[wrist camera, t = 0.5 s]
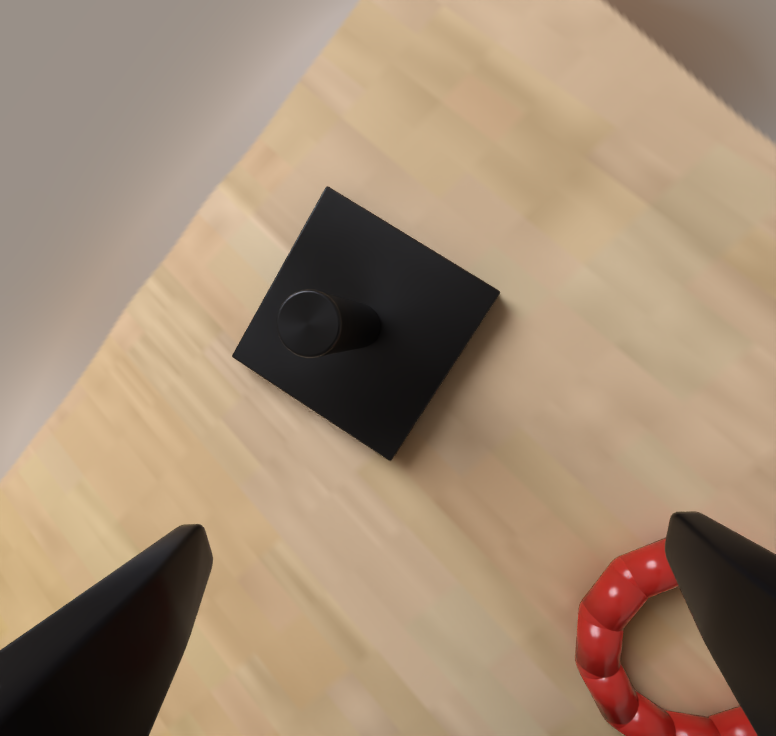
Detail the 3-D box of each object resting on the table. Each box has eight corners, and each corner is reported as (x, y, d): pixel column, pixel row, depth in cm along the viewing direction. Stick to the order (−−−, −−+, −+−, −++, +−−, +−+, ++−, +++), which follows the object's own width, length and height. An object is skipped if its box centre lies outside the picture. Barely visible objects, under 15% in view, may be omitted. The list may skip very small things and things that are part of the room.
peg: (498, 293, 20) (529, 269, 12) (393, 455, 21) (357, 531, 13) (332, 192, 20) (255, 104, 12) (240, 355, 22) (119, 370, 14)
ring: (868, 618, 19) (911, 649, 17) (717, 782, 20) (743, 826, 18) (658, 486, 19) (679, 502, 18) (529, 654, 21) (536, 684, 19)
